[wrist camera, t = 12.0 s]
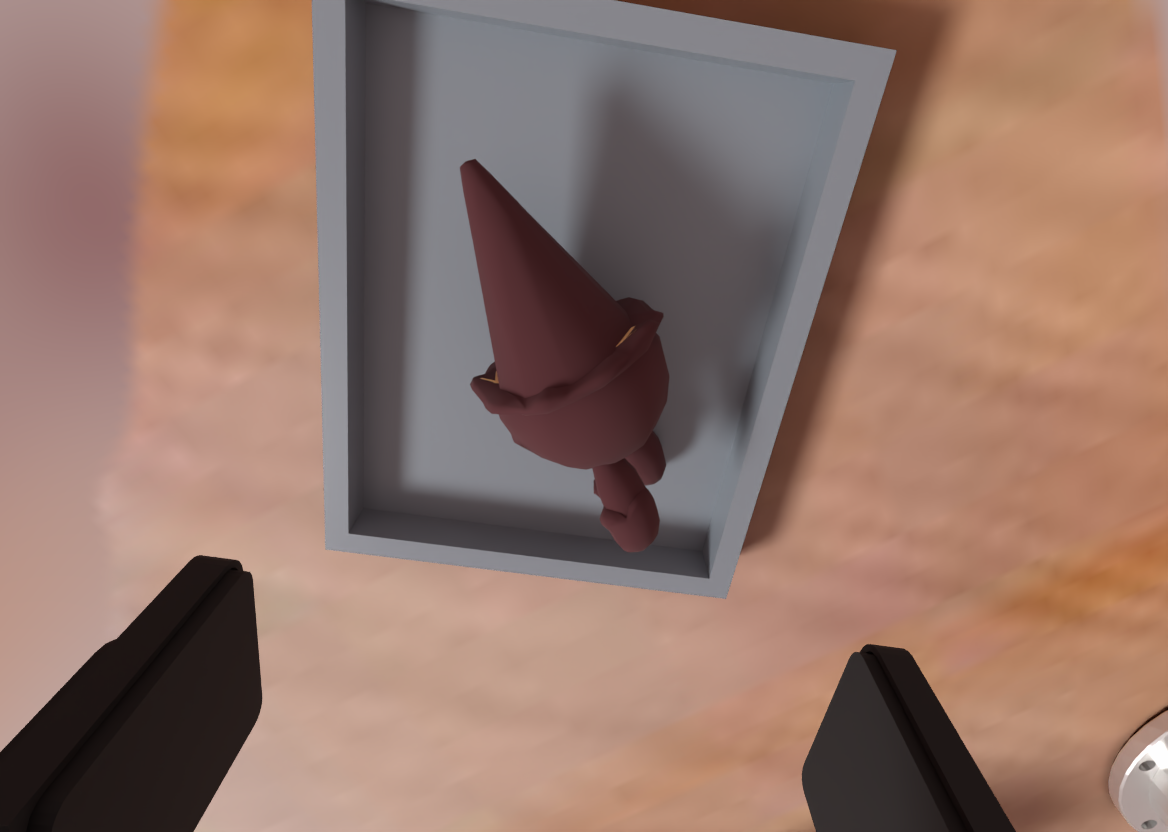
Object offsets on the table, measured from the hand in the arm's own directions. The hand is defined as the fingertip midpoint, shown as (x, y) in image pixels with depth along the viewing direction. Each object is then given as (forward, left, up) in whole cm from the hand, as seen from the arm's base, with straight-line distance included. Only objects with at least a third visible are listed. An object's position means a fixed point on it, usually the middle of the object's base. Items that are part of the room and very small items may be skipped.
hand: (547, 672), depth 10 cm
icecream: (0, 0, -18) cm, 18 cm away
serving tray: (0, 0, -18) cm, 18 cm away
